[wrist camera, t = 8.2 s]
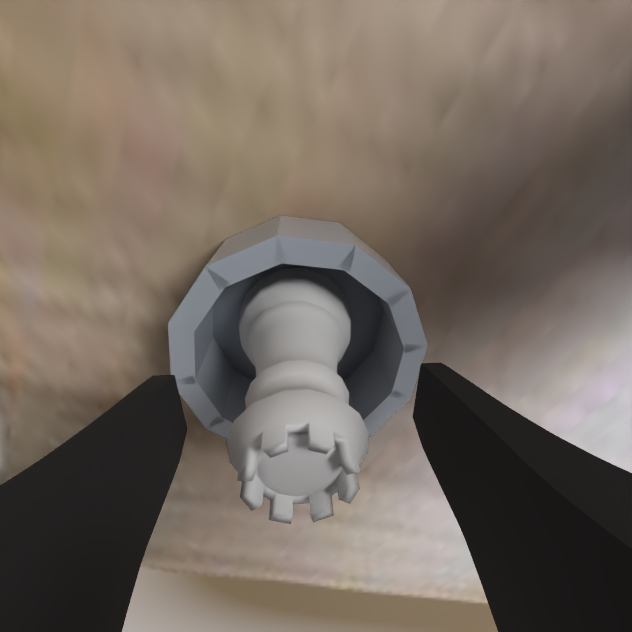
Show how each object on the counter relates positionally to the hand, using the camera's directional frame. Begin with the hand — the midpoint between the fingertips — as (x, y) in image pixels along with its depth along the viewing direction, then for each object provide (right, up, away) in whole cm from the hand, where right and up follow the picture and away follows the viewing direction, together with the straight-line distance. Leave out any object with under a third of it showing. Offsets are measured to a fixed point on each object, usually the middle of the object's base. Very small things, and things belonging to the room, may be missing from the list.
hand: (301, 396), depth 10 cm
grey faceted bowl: (0, +2, +5) cm, 5 cm away
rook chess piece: (0, +3, +4) cm, 5 cm away
